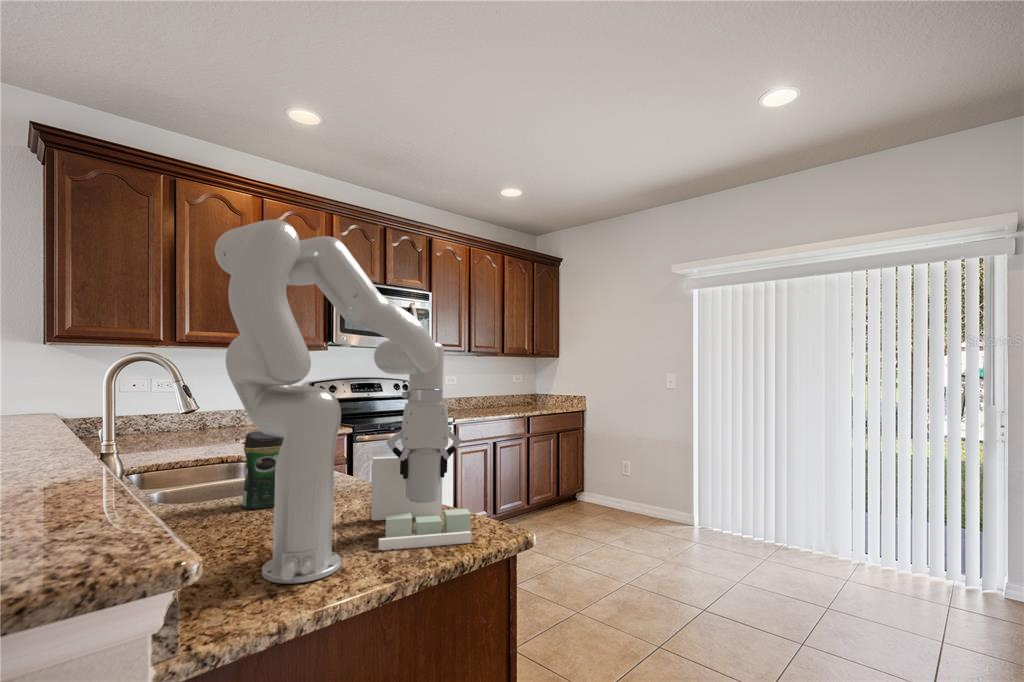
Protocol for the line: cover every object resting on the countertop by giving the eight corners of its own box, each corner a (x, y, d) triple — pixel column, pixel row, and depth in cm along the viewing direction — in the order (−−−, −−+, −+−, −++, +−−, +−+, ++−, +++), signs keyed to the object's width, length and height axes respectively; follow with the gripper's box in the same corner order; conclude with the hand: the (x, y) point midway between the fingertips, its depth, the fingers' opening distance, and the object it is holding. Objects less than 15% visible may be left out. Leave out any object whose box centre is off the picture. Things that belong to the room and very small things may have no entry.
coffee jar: (282, 499, 135) (284, 428, 136) (286, 506, 128) (288, 431, 129) (241, 503, 130) (243, 430, 131) (242, 511, 123) (245, 433, 124)
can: (401, 503, 110) (403, 446, 111) (410, 495, 117) (411, 442, 118) (436, 504, 110) (438, 447, 110) (442, 495, 117) (444, 442, 118)
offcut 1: (411, 543, 103) (412, 517, 103) (386, 545, 101) (386, 519, 102) (410, 536, 107) (410, 512, 107) (385, 538, 105) (385, 514, 106)
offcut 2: (470, 538, 106) (470, 513, 106) (446, 540, 105) (446, 515, 105) (466, 532, 110) (467, 508, 110) (443, 534, 109) (443, 510, 109)
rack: (471, 542, 103) (472, 472, 104) (373, 551, 98) (375, 477, 99) (452, 512, 124) (453, 454, 125) (371, 518, 119) (373, 457, 120)
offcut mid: (441, 541, 105) (441, 521, 105) (416, 542, 103) (417, 522, 103) (438, 534, 108) (439, 515, 109) (414, 536, 107) (415, 517, 107)
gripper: (386, 398, 109) (383, 482, 108) (467, 398, 114) (465, 479, 113) (385, 396, 116) (382, 475, 115) (461, 396, 121) (459, 472, 120)
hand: (423, 476), depth 114 cm, fingers closed on can, 7 cm apart
